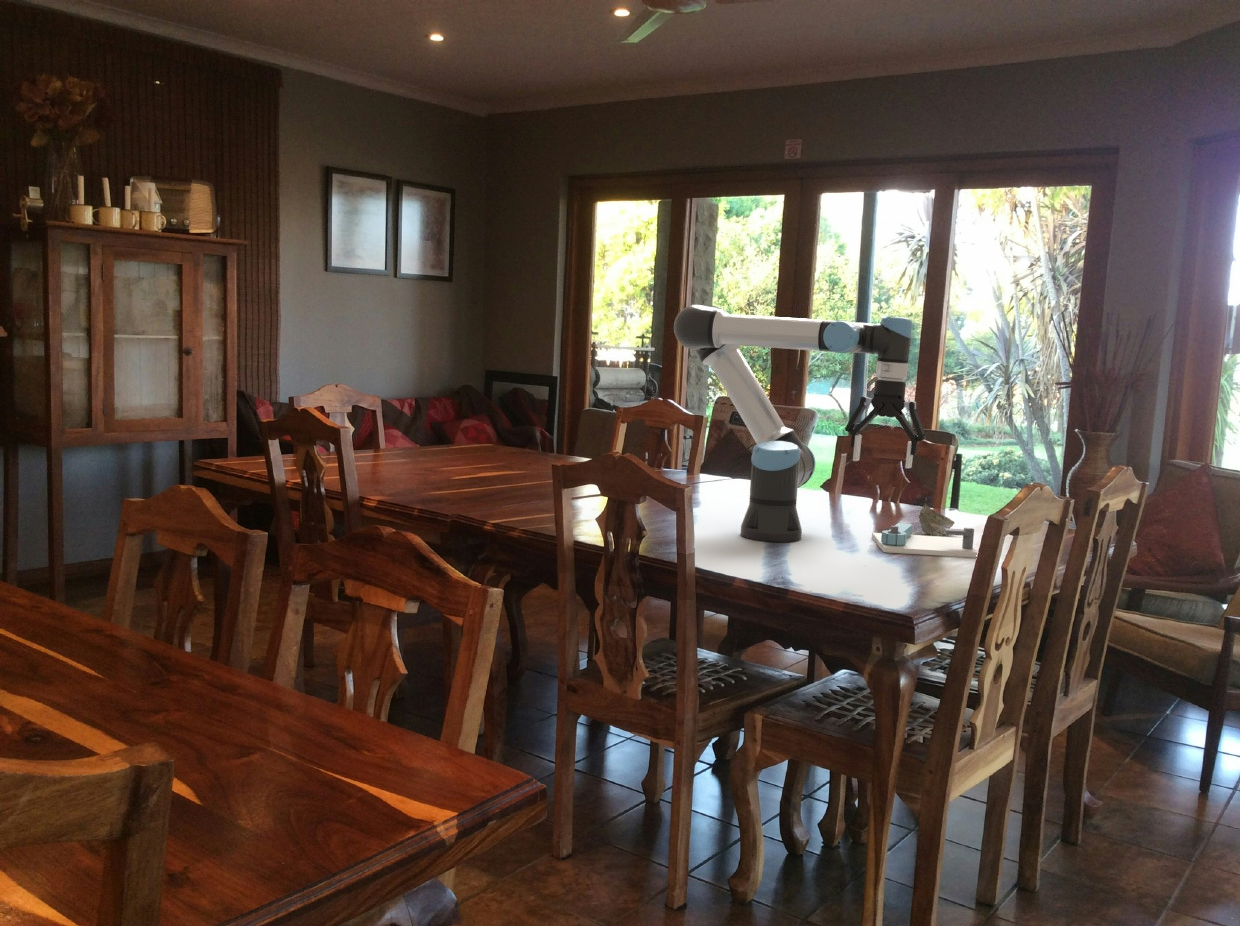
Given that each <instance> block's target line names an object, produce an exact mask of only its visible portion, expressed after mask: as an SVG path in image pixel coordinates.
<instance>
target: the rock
mask: <svg viewBox="0 0 1240 926" xmlns="http://www.w3.org/2000/svg"><path fill="white" fill-rule="evenodd" d="M918 518H919V521H918V522H919V523H920V528H921V529H922V530H921V531H922V532H923V533H924V534H926V535H927V536H939V537H944V534H945V533H944V528H949V529H951V527H953V526H954V524H955V523H956V522H955V521H953V520H952V519H951V518H949V517H947V516H945V515H943V514H941V513H938V512H937V511H935V510H934V508H930V506H928V505H927V504H926V503H923V506H922V509H920V511H919V516H918Z"/></svg>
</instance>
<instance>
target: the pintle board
mask: <svg viewBox="0 0 1240 926" xmlns="http://www.w3.org/2000/svg"><path fill="white" fill-rule="evenodd" d="M898 528H899V527H898V526H895V525H890V529H891V531H890V533H892V534H898ZM871 533H872V534H871V538H872V540H873V541H874V542H875V543H876V545H877V546H878V547H879V548H880V549H881V550H882V552H883V553H890V554H893V553H894V554H907V555H924V556H938V557H939V556H940V557H941V556H942V557H959V558H974V559H975V558H976V555H977V553H979V552H978V551H977V550H976V549H975V548H973V547H974V538H975V537H974V536H975V534H974V533H975V529H974V528H973V527H963V528H962V529H961V528H944V533H943V534H945V535H947V536H942V537H939V536H930V535H923V534H922V535H919V534H917V535H916V534H911V535H910V536H909V537H908V538H907V539H906V544H905V545H890V544H885V543H882V542H881V536H882V532H871ZM949 535H950V536H949ZM953 536H955V537H953ZM956 536H962V538H961V537H956Z"/></svg>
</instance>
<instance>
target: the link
mask: <svg viewBox="0 0 1240 926" xmlns="http://www.w3.org/2000/svg"><path fill="white" fill-rule="evenodd" d="M894 526H898V527H899V528H898V534H892V533H890V531H891V528H890V529H888V530H887V529H886V530H882V531H881V533H882V536H881V542H882V543H885V544H890V545H905V544H906V539H907V538H908V537H909V536H910V535H913V534H912V533H913V524H911V523H904V522H903V523H902V522H898V523H896V524H895V525H894Z"/></svg>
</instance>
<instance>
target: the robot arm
mask: <svg viewBox="0 0 1240 926" xmlns="http://www.w3.org/2000/svg"><path fill="white" fill-rule="evenodd" d="M912 325H913V323H912V320H911V319H910V318H908V317H901V316H882V317H881V321H880V322H879V323H868V322H867V323H866V322H857V321H855V322H854V321H848V320H843V319H842V320H840V319H839V320H838V319H837V320H833V319H831V320H830V319H829V320H828V319H814V318H801V317H800V318H798V317H781V316H780V317H779V316H766V315H765V316H764V315H763V316H762V315H749V314H748V315H746V314H730V313H728V311H726V310H724V309H723V308H721V307H719V306H715V305H702V304H692V305H688V306H686V307H684V308H683V309H681V310H680V311H679V312H678V314H677V315H676V317H675V320H674V323H673V332H674V335H675V338H676V340H677V341H678V343H679V344H680V345H681V346H682V347H685V348H687V349H688V350H693V351H695V353H696V354H697V356H698V358H699V359H700V361H701V363H702V364H703V365H705V366H708V367H711V369H712V370H713V372H714V374H715V375H716V377H717V379H718V381H719V382H720V384H721V386H722V387H723V389H724V390H725V392H726V394H727V397H729V399H730V400H731V403H732V404H733V407H735V409H736V411H737V412H738V414H739V416H740V418H741V420H742V421H743V423H744V424H745V426H746V428H747V429H748V432H750V433H749V434H751V436H752V438H753V440H754V441H755V443H756V444H755V445H754V446H753V448H752V454H751V458H750V460H751V469H750V470H751V471H750V483H749V484H750V486H749V502H748V503H749V504H748V507H747V509H746V512H745V515H744V518H743V519H742V521H741V522H742V523H741V525H740V535H741V536H742V537H743V538H746V539H751V540H757V541H764V542H776V543H778V542H779V543H786V542H796V541H800V540H802V533H803V532H802V531H803V530H802V529H803V528H802V525H801V522H800V521H801V520H800V517H799V514H798V510H797V497H798V488H801V487H802V486H804V485H805V484H806V483H808V481H810V479H811V478H812V476H813V475H814V473H815V471H816V470H815V469H816V458H815V455H814V452H813V451H812V450H811V448H809V446H807V445H806V444H805V443H803V442H802V440H801V439H800V438H799V436H798V434H797V433H796V431H795V430H794V429H793V428H789V427H786V426H785V424H784V423H783V421H782V419H781V417H780V416H779V413H777V411H776V409H775V407H774V406H773V404H772V402H771V401H770V399H769V396H767V394H766V392H765V391H764V389H763V387H762V385H761V384H760V381H758V378H757V377H756V375H755V374H754V372H753V370H752V369H751V367H750V365H749V364H748V362H747V360H746V359H745V357H744V356H743V354H742V352H741V350H740V347H741V346H745V347H757V348H772V349H773V348H774V349H776V348H777V349H787V350H788V349H789V350H801V351H802V350H803V351H817V352H818V351H819V352H829V353H830V352H831V353H836V354H846V353H852V354H853V353H855V354H870V355H877V359H876V360H877V361H876V368H875V377H876V378H877V379H875V381H874V387H873V397H872V398H870V397H868V396H867V395H865V396H861V397H860V400H859V403H858V404H859V405H858V406H857V407H856V410H855V412H854V413H853V414H852V416H851V417H850V419H849V421H848V422H847V424H846V426H845V428H844V430H845V431H846V432H848V433H850V434H851V440H850V447H851V448H853V451H852V452H853V454H852V455H853V456H852V461H853V462H858V461H860V456H861V448H862V447H861V445H862V437H863V434H860V433H861V432H862V431H863V430H864V429H865V428H866V427H867V426H868V425H869V424H870V423H872V421H873V420H875V418H876V417H877V416H879V417H881V418H882V417H887V418H891V419H892V418H895V419H896V421H898V423H899V424H900V426H901V427H902V429H903V431H904V432H905V433H906V435H907V436H908V437H909V439H910V441H908V442H907V447H906V456H905V465H904V468H905V469H912V468H913V458H914V456H916V455H917V454H918V448H919V443H920V442H922V441H925V440H927V434H926V431H925V429H924V426H923V423H922V421H921V417H920V416H919V413H918V402H917V401H913V400H912V401H905V397H906V396H905V395H906V388H907V387H906V385H907V383H906V381H905V380H906V379H907V378H908V377H907V376H908V368H909V358H910V352H911V343H912ZM870 404H871V406H872V408H873V409H872V410H871V411H870V412H869V413H868V414H867V416H865V417H864V418H863V419H862V420H861V421H860V422H859V423H858V421H859V420H860V418H861V417H862V415H863V414H864V412H865V410H866V408H867V407H868V406H869V405H870ZM904 408H906V410H907V411H909V416H910V418H911V421H912V423H913V427H914V428H913V427H912V426H911V424H910V423H909V421H908V420H907V418H906V416H905V414H904V413H903V410H904Z"/></svg>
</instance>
